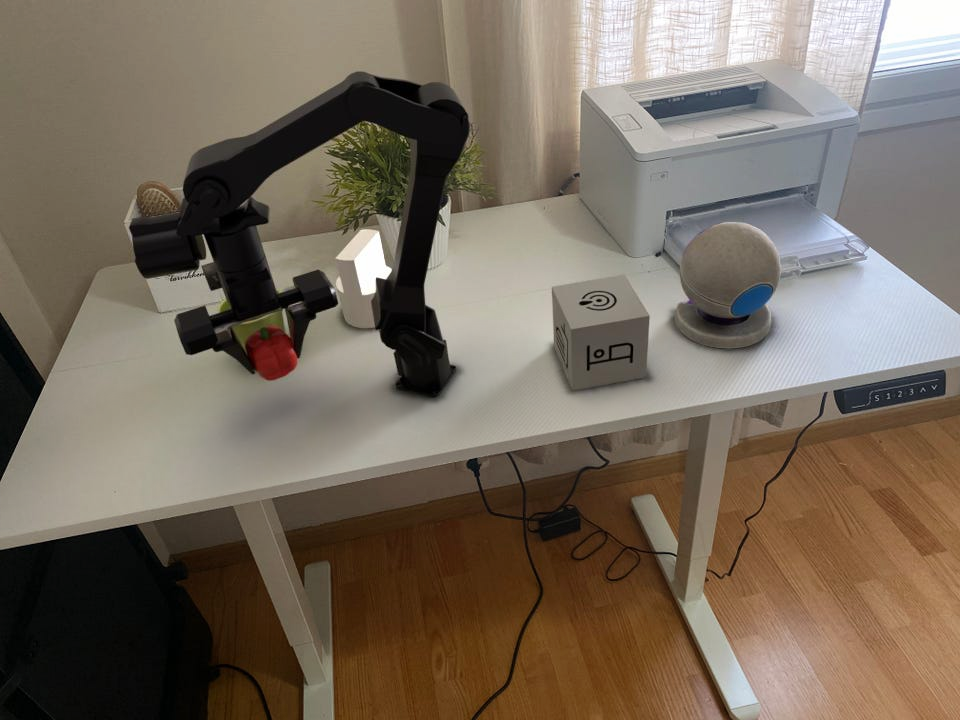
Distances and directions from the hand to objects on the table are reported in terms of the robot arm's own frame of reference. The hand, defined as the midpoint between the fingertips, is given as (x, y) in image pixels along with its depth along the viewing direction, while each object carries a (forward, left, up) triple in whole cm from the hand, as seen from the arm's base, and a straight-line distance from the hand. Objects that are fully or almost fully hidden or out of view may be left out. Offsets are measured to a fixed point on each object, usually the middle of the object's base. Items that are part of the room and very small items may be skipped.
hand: (275, 364), depth 95 cm
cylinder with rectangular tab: (+1, -23, -8) cm, 24 cm away
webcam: (-50, -36, -8) cm, 62 cm away
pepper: (0, 0, -1) cm, 1 cm away
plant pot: (+11, -9, -8) cm, 16 cm away
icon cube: (-36, -22, -8) cm, 43 cm away
